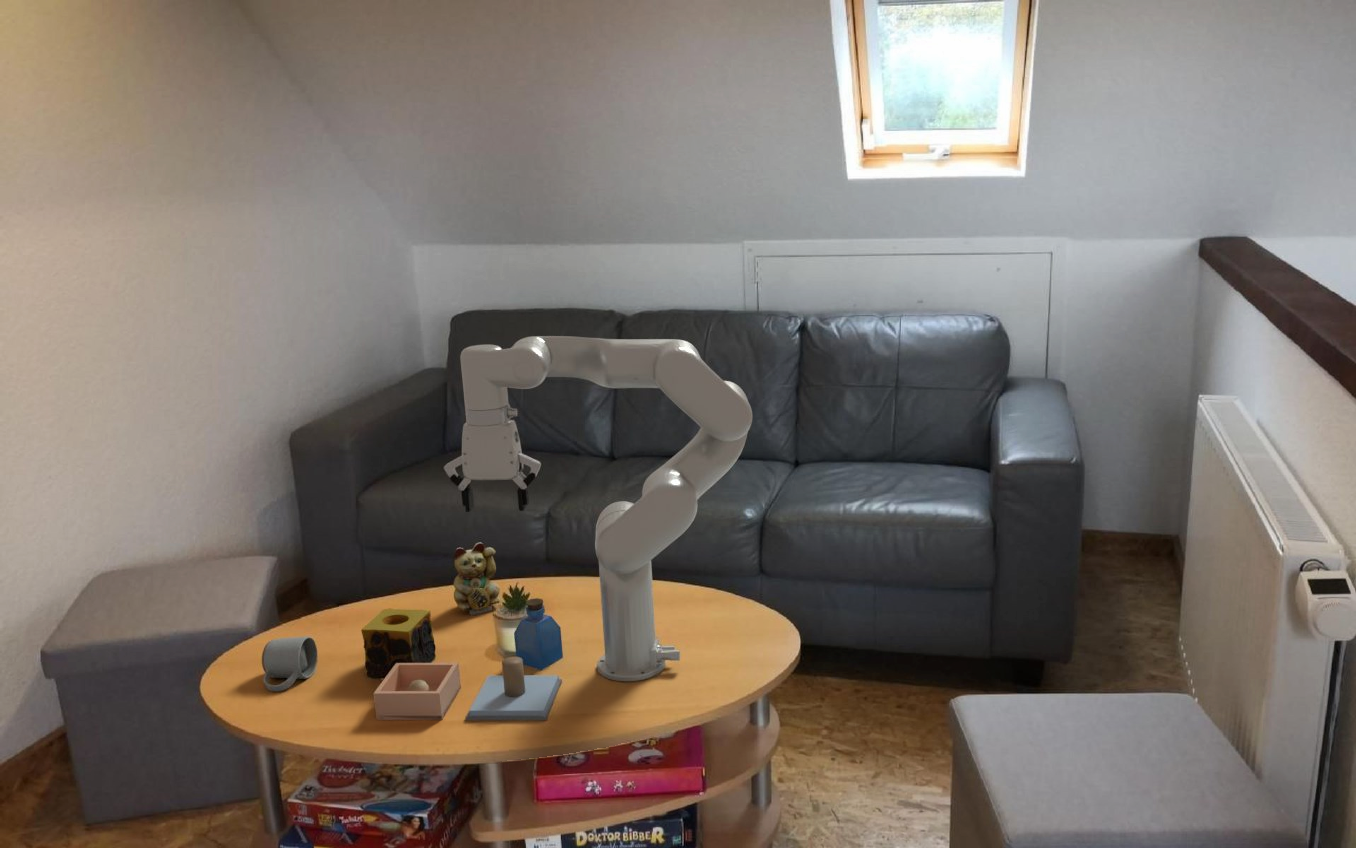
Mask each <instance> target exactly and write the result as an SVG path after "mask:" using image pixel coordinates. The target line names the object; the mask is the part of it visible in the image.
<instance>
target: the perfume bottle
mask: <svg viewBox="0 0 1356 848" xmlns="http://www.w3.org/2000/svg"><path fill="white" fill-rule="evenodd" d="M526 605H527V606H526V607H525V610H526V615H527V616H526V617H523V618H522V619H521V620H520V621H519V623H518V625H517V626H516V629H515V631H514V632H513V634H514V635H513V636H514V645H515V646H514V647H515V648H514V649H515V657H520V658H522V660H523V666H524V667H525V666H526V667H528V668H532V669H536V670H540V671H543V670H545V669H546V668H548V667H550V666H551V665H553V664H555V663H556V662H558V661H560V660H561V659H563V658H564V652H563V644H562V643H563V641H562V640H563V639H562V631H561V630H562V629H561V628H562V627H561V626H560V625H559V624H558V623H557V622H556V620H555V619H554V618H553V617H552V616H551V615H548V614H545V612H546V610H545V605H544V599H542V598H538V597H537V598H530V599H528V600H526Z"/></svg>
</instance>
